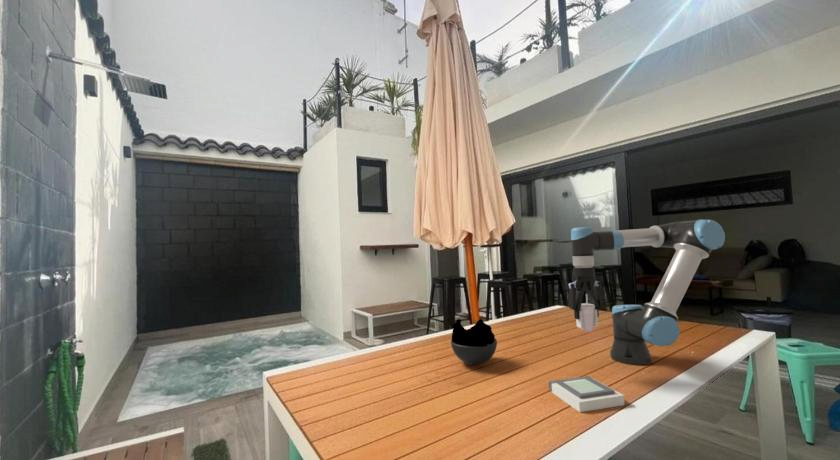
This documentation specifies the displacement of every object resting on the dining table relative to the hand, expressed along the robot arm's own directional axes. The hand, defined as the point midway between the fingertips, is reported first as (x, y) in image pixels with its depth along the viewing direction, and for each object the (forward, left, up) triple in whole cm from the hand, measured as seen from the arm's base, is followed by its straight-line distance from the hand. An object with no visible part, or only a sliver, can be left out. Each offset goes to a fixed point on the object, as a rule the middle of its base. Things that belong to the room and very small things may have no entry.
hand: (587, 326), depth 131 cm
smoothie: (0, 0, -2) cm, 2 cm away
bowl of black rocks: (+37, -26, -19) cm, 49 cm away
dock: (+14, +15, -19) cm, 28 cm away
